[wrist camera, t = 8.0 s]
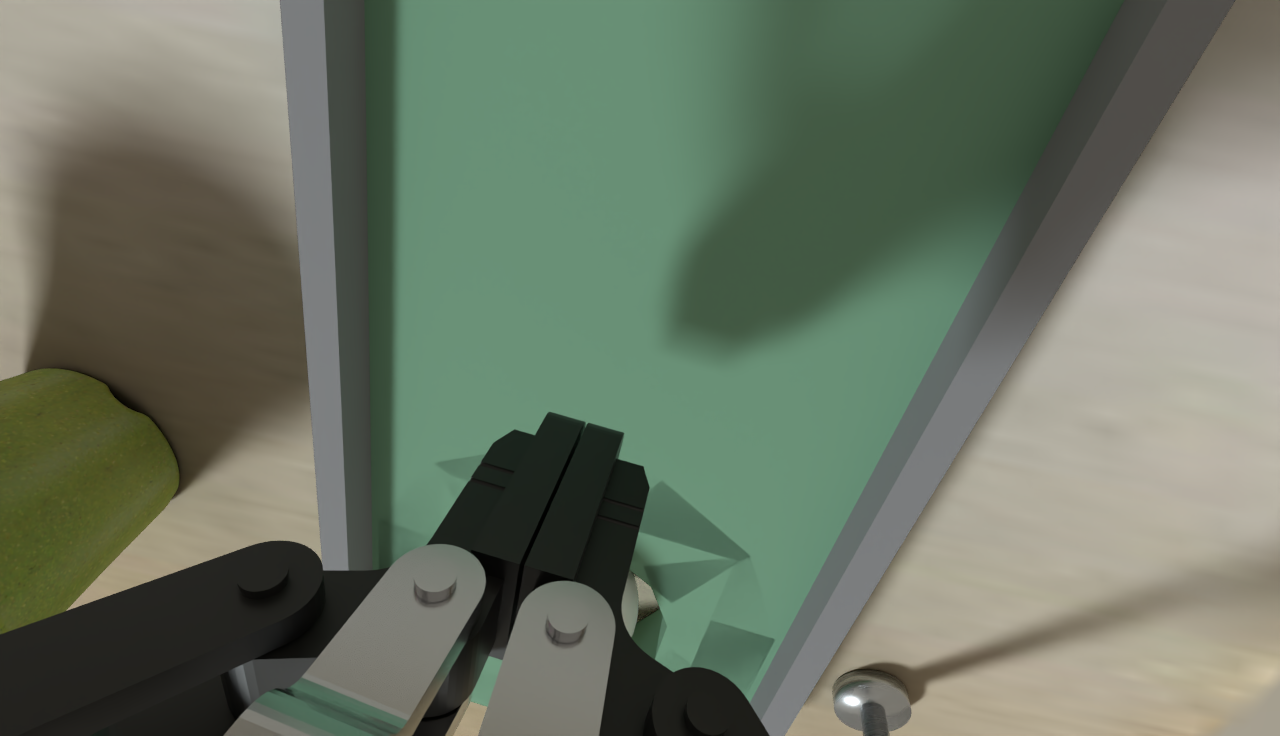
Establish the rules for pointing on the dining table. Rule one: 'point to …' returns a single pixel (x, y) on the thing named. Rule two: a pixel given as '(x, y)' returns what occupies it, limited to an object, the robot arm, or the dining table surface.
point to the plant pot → (71, 488)
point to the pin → (871, 702)
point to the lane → (699, 267)
